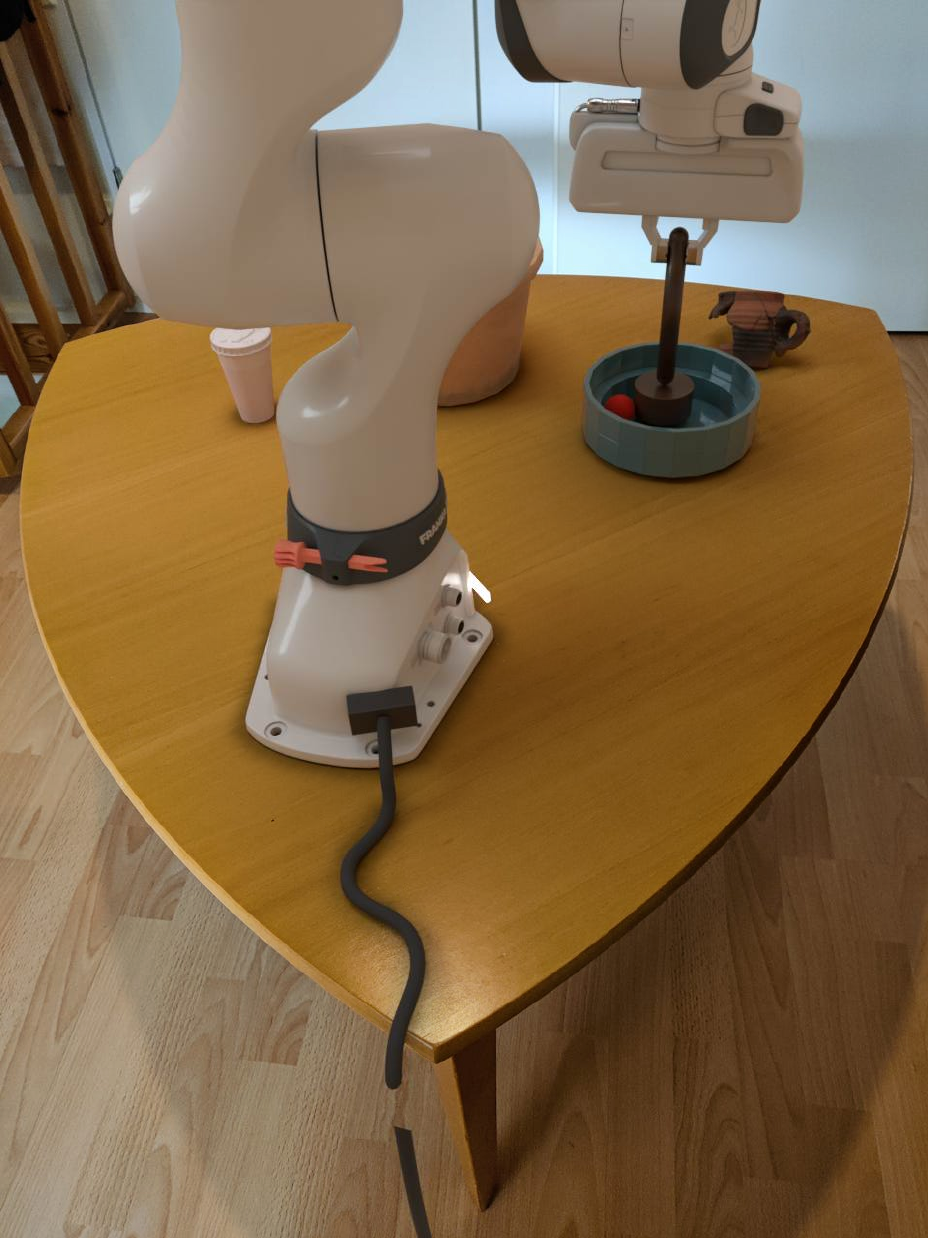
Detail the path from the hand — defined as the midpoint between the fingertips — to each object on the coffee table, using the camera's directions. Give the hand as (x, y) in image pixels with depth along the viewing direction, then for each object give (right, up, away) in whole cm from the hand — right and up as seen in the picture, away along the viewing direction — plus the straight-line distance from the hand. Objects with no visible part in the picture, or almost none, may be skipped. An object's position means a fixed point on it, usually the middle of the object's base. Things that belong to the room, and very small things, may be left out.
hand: (676, 261), depth 93 cm
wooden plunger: (+1, -12, +11) cm, 16 cm away
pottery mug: (+14, -3, +22) cm, 26 cm away
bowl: (+1, -14, +10) cm, 18 cm away
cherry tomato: (-4, -12, +10) cm, 16 cm away
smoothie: (-42, -11, +17) cm, 47 cm away
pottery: (-22, -5, +22) cm, 31 cm away
